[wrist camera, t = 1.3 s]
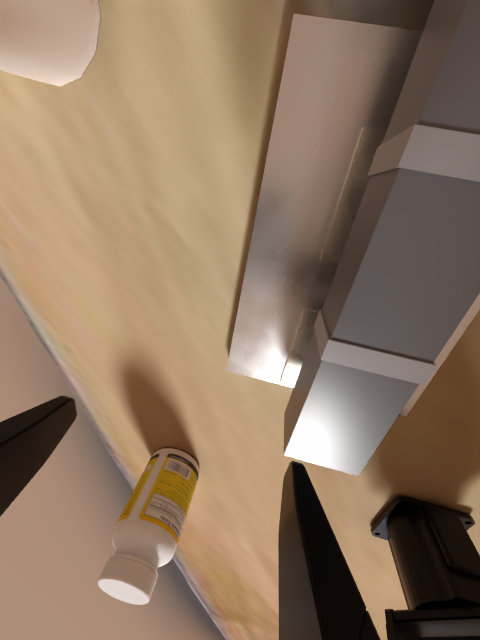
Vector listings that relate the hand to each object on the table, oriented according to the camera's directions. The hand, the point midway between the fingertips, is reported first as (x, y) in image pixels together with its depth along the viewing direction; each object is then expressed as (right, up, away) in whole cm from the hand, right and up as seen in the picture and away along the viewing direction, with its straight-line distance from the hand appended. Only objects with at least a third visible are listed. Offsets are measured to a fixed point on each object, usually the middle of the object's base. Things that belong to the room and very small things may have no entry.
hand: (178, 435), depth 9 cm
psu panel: (+9, +7, +6) cm, 13 cm away
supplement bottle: (-5, -11, +18) cm, 22 cm away
